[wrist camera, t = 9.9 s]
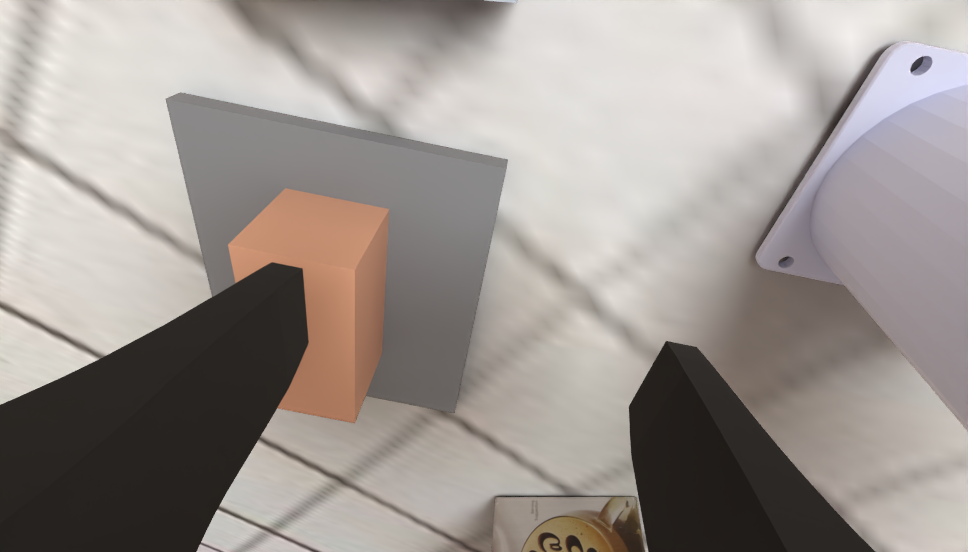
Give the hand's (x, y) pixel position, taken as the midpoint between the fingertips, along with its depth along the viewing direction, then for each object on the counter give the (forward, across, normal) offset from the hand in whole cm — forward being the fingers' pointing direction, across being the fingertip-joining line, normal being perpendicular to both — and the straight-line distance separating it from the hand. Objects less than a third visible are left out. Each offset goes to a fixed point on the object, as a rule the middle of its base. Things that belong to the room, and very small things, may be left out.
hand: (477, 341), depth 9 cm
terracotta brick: (+9, +6, +6) cm, 12 cm away
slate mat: (+9, +6, +7) cm, 13 cm away
